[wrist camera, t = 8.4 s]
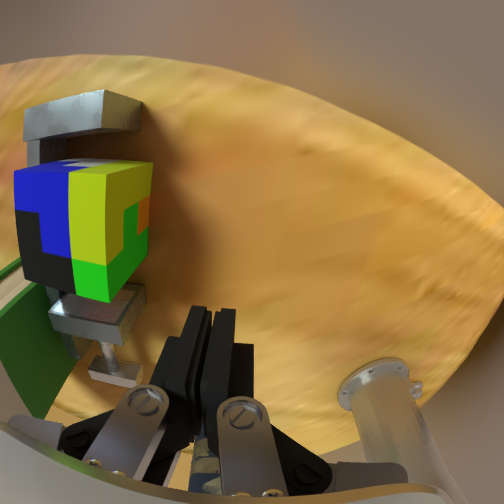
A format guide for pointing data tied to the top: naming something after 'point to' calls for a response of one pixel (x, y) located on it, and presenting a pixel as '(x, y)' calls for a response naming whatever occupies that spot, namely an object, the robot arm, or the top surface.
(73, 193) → the puzzle toy
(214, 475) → the canister
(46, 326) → the hardback book
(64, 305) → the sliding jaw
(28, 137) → the vise body
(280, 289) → the top surface
